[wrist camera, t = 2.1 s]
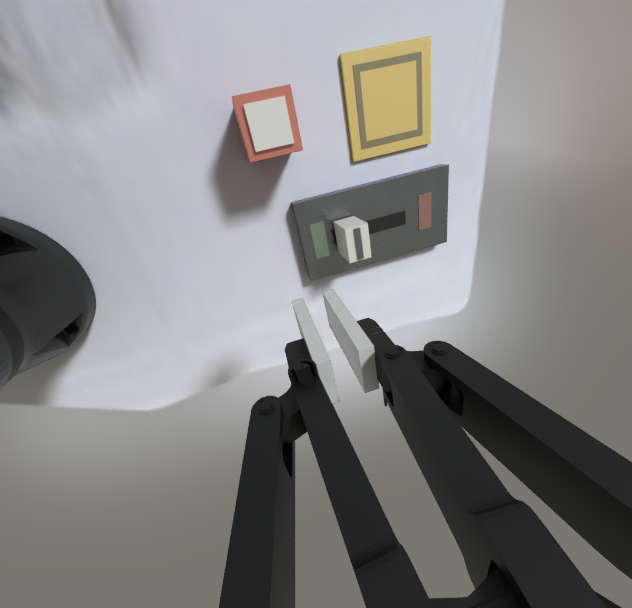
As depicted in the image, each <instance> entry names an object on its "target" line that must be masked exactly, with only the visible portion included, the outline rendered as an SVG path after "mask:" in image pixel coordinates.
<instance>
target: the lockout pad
mask: <svg viewBox="0 0 632 608" xmlns="http://www.w3.org/2000/svg"><path fill="white" fill-rule="evenodd" d="M340 62H341V70H342V79H343V87H344V95H345V103H346V111H347V119H348V127H349V135H350V144H351V152H352V160H353V162H355V161H359V160H363V159H367V158H371V157H375V156H379V155H383V154H387V153H391V152H396V151H400V150H404V149H408V148H412V147H416V146H420V145H424V144H428V143H431V36H428V37H423V38H418V39H413V40H408V41H403V42H398V43H393V44H388V45H383V46H378V47H373V48H368V49H363V50H358V51H353V52H348V53H343V54H340Z"/></svg>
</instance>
